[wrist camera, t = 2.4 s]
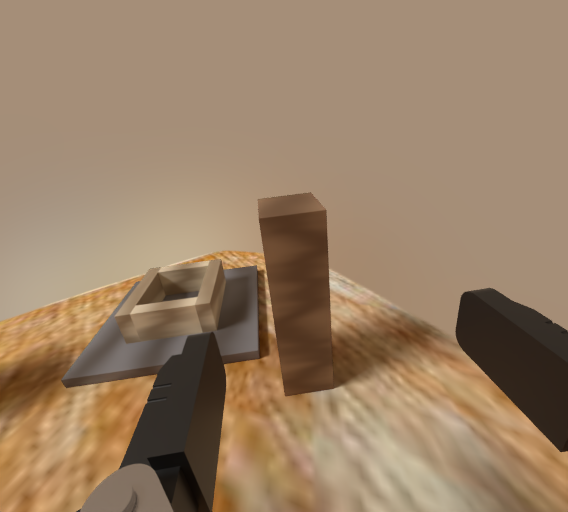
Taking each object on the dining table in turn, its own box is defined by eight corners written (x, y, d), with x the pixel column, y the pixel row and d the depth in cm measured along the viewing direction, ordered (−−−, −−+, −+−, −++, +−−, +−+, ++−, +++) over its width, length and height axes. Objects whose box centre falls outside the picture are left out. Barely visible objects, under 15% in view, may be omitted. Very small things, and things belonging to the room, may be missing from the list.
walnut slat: (285, 396, 23) (258, 218, 16) (279, 351, 27) (257, 199, 21) (333, 388, 23) (326, 209, 17) (320, 345, 27) (310, 192, 21)
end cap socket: (65, 387, 26) (43, 350, 24) (138, 287, 42) (128, 260, 40) (259, 358, 27) (252, 320, 25) (257, 271, 43) (253, 244, 41)
